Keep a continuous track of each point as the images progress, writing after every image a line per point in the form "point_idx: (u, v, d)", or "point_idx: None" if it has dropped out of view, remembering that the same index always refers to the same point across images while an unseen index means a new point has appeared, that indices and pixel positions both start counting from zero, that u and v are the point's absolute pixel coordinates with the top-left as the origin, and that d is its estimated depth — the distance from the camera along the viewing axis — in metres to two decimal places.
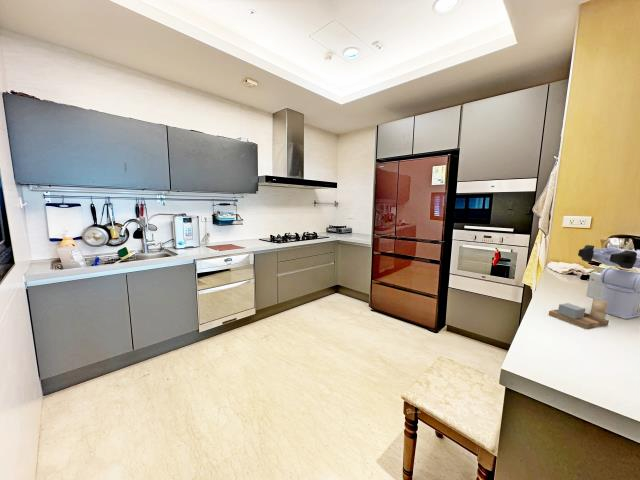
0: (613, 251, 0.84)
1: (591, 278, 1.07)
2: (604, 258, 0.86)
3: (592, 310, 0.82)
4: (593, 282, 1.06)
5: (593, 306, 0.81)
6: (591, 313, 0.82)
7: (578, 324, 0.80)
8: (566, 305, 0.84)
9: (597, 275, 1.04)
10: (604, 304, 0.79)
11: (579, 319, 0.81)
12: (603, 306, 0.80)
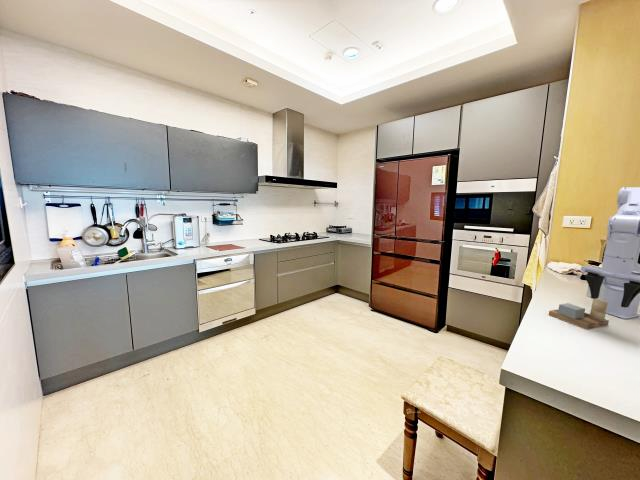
0: None
1: None
2: None
3: (592, 310, 0.82)
4: None
5: (593, 306, 0.81)
6: (591, 313, 0.82)
7: (578, 324, 0.80)
8: (566, 305, 0.84)
9: None
10: (604, 304, 0.79)
11: (579, 319, 0.81)
12: (603, 306, 0.80)
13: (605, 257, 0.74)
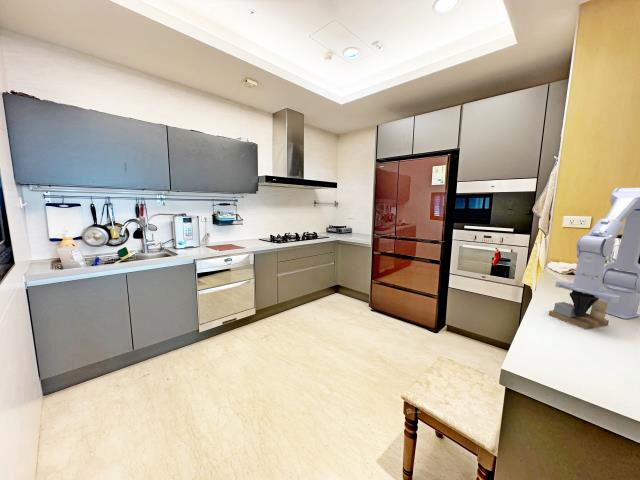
0: None
1: None
2: None
3: (592, 310, 0.82)
4: None
5: (593, 306, 0.81)
6: (591, 313, 0.82)
7: (578, 324, 0.80)
8: (562, 304, 0.85)
9: None
10: (604, 304, 0.79)
11: (579, 319, 0.81)
12: (603, 306, 0.80)
13: (576, 274, 0.80)
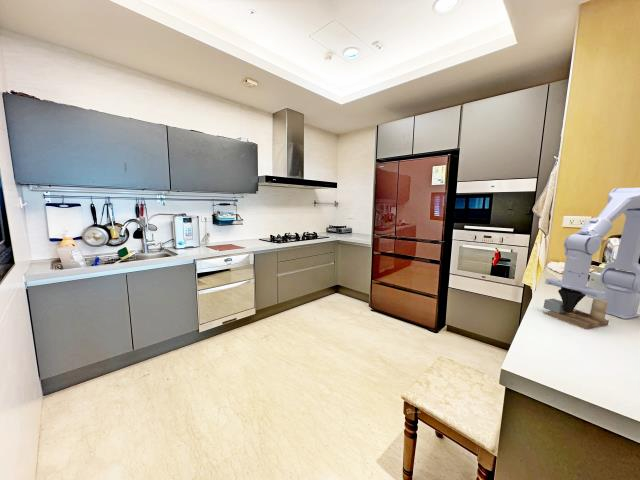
0: None
1: (591, 278, 1.07)
2: None
3: (592, 310, 0.82)
4: (593, 282, 1.06)
5: (593, 306, 0.81)
6: (591, 313, 0.82)
7: (578, 324, 0.80)
8: (551, 300, 0.88)
9: (597, 275, 1.04)
10: (604, 304, 0.79)
11: (579, 319, 0.81)
12: (603, 306, 0.80)
13: (564, 271, 0.83)
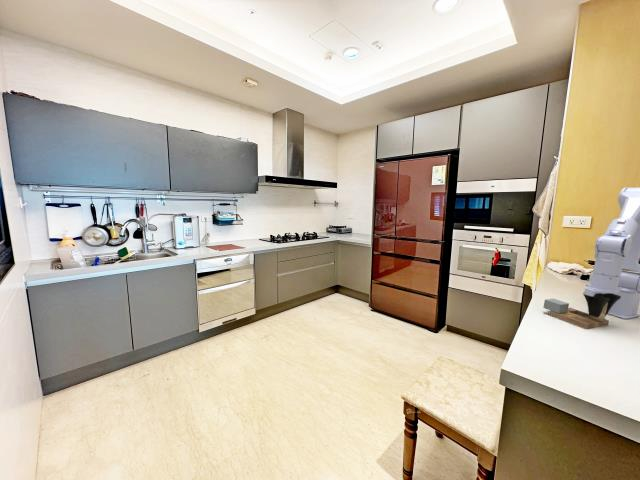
0: None
1: (591, 278, 1.07)
2: None
3: None
4: None
5: None
6: None
7: (578, 324, 0.80)
8: (551, 300, 0.88)
9: None
10: None
11: (579, 319, 0.81)
12: None
13: None
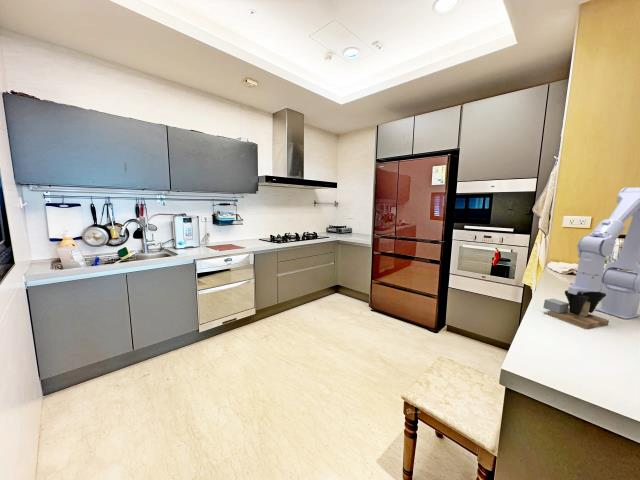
0: None
1: None
2: None
3: None
4: None
5: None
6: None
7: (578, 324, 0.80)
8: (551, 300, 0.88)
9: None
10: (587, 304, 0.83)
11: (579, 319, 0.81)
12: (586, 306, 0.83)
13: None
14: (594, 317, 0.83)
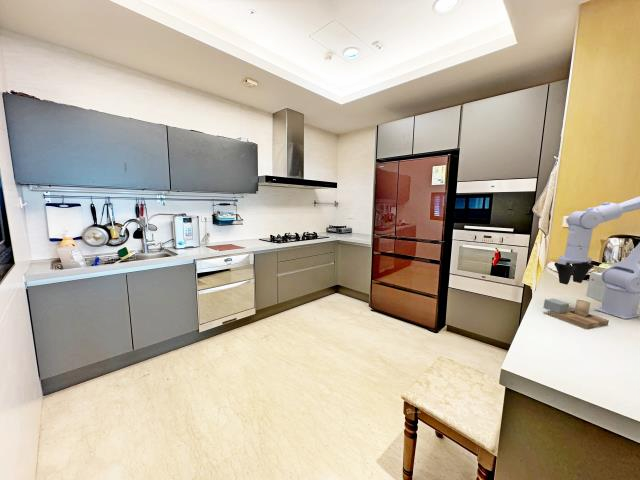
0: None
1: (591, 278, 1.07)
2: None
3: (576, 310, 0.85)
4: (593, 282, 1.06)
5: (576, 306, 0.85)
6: (575, 313, 0.86)
7: (578, 324, 0.80)
8: (551, 300, 0.88)
9: (597, 275, 1.04)
10: (587, 304, 0.83)
11: (579, 319, 0.81)
12: (586, 306, 0.83)
13: None
14: (594, 317, 0.83)
